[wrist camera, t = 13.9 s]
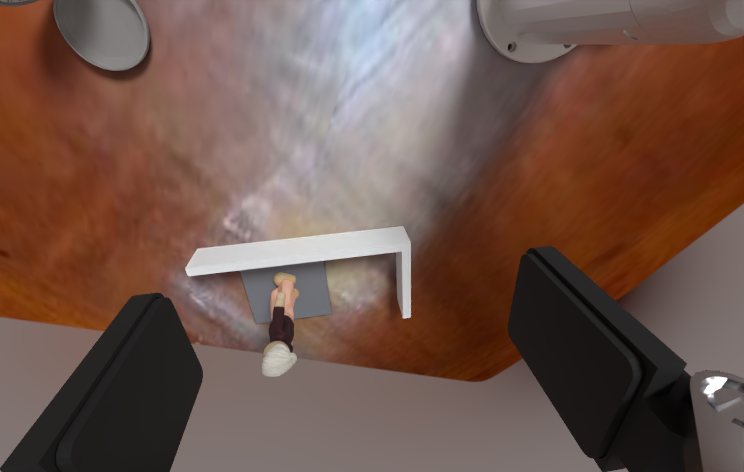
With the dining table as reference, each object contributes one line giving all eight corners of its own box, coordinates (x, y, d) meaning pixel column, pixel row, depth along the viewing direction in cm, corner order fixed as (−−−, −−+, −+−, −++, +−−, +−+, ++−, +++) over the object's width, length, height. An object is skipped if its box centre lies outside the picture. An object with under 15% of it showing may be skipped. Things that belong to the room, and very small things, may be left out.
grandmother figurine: (260, 269, 41) (237, 352, 30) (291, 261, 41) (280, 341, 30) (282, 315, 45) (269, 403, 34) (310, 308, 45) (306, 394, 34)
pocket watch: (147, 83, 30) (76, 98, 22) (34, 38, 28) (-97, 35, 19) (161, -20, 27) (85, -50, 18) (34, -81, 25) (-123, -150, 16)
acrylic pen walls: (403, 226, 41) (410, 242, 37) (404, 297, 46) (410, 317, 43) (197, 248, 39) (185, 268, 35) (223, 320, 44) (215, 343, 41)
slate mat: (322, 249, 41) (322, 251, 41) (331, 312, 46) (331, 314, 46) (237, 259, 40) (236, 261, 40) (256, 321, 45) (256, 323, 45)
